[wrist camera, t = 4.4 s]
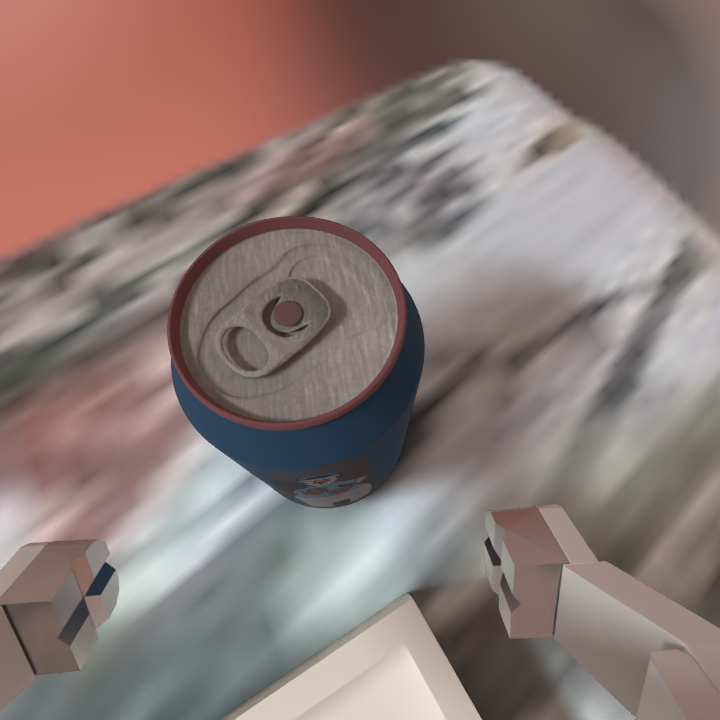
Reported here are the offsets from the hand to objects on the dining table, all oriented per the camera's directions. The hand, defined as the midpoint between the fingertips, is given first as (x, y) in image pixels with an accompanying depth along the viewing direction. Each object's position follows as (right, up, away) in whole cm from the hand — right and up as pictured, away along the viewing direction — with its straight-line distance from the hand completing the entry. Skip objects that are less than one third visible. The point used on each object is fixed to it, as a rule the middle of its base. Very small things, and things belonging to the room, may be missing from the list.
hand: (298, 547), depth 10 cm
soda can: (0, 0, +12) cm, 12 cm away
